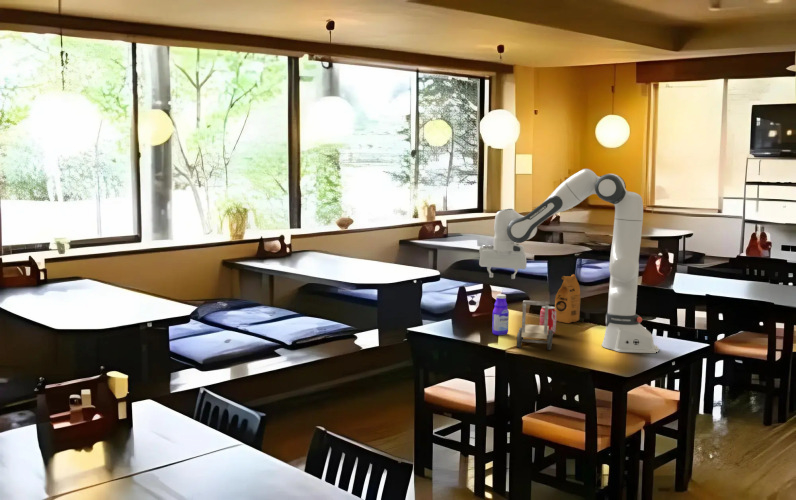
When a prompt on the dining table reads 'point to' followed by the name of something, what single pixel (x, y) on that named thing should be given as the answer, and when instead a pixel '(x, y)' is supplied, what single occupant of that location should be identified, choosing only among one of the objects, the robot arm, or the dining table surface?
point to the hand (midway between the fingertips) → (502, 278)
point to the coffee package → (568, 300)
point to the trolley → (535, 327)
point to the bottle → (500, 316)
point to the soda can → (549, 318)
